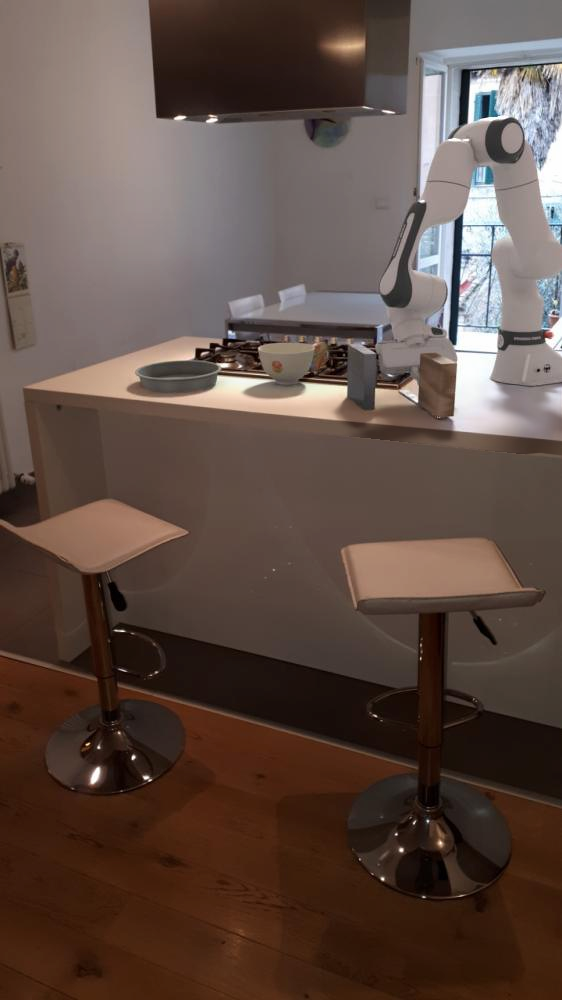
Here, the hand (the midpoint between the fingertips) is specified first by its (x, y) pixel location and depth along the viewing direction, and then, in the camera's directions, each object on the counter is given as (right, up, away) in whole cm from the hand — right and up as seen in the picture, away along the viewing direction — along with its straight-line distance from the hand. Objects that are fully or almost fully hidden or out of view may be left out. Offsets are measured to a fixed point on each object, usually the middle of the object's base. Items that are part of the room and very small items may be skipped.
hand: (424, 384), depth 205 cm
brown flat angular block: (+2, -8, -6) cm, 10 cm away
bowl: (-35, +4, +27) cm, 44 cm away
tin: (-26, +9, +40) cm, 48 cm away
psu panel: (-8, -5, +1) cm, 9 cm away
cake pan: (-66, +4, +28) cm, 72 cm away
